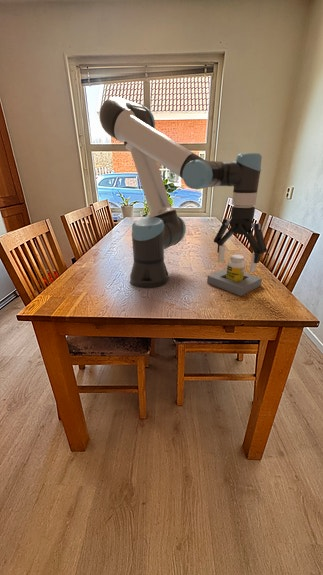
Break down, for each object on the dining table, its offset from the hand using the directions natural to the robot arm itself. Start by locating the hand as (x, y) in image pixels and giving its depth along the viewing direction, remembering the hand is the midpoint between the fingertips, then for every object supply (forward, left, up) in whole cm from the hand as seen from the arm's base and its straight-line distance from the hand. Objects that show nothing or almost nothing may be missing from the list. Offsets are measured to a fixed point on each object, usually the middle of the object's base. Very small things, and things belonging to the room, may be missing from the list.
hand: (235, 266), depth 91 cm
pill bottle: (0, 0, -7) cm, 7 cm away
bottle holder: (0, 0, -7) cm, 7 cm away
